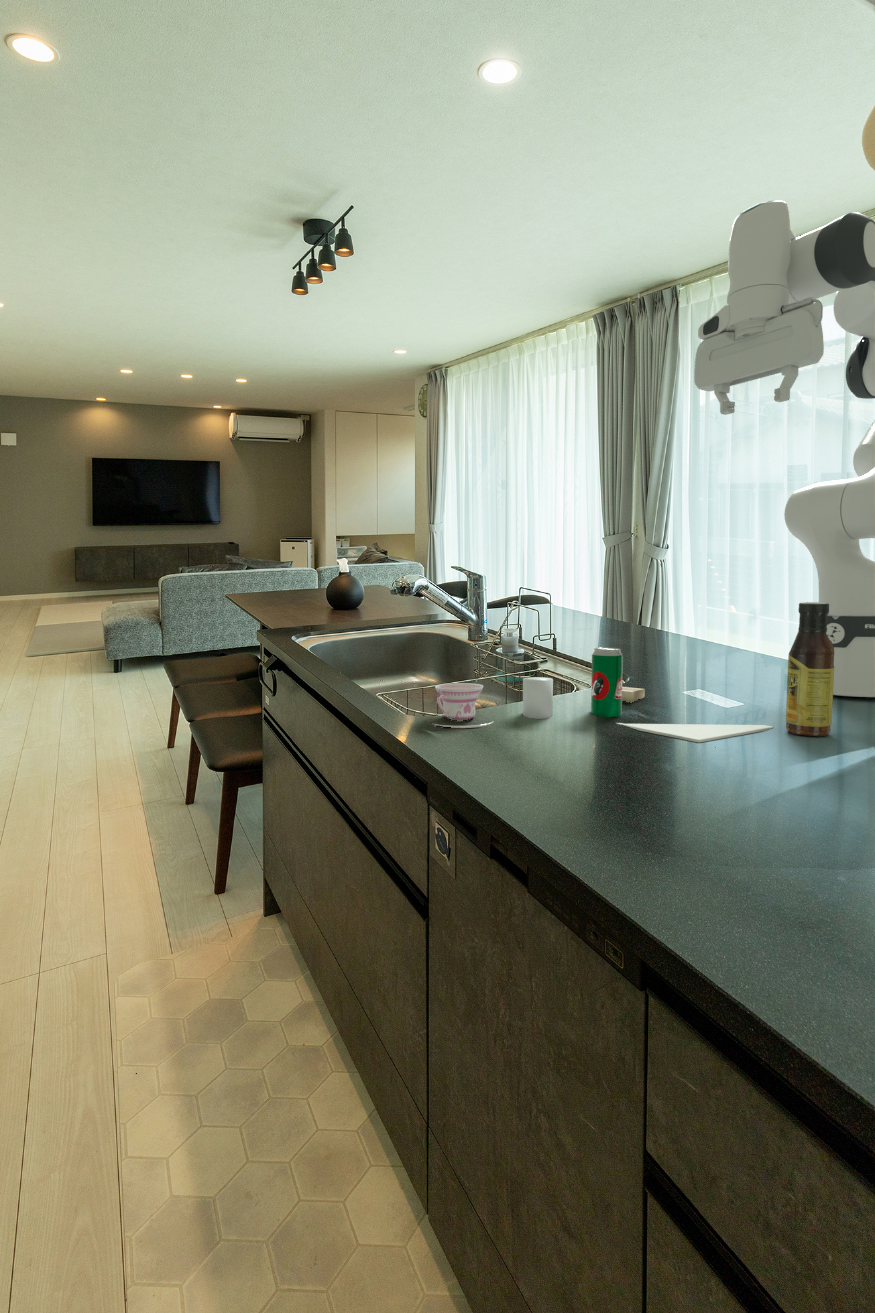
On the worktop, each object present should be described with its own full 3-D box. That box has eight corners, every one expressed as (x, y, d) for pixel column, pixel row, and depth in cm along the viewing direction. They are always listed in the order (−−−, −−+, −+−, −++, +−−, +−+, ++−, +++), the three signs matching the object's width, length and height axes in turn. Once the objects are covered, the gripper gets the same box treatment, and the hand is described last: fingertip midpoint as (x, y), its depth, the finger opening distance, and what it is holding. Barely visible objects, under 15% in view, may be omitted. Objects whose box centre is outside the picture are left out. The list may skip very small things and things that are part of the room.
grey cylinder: (539, 716, 128) (539, 676, 127) (558, 720, 124) (559, 679, 123) (516, 719, 125) (516, 678, 125) (536, 723, 121) (536, 681, 120)
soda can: (622, 722, 122) (623, 650, 121) (590, 721, 123) (592, 649, 122) (620, 717, 127) (622, 647, 126) (590, 716, 128) (591, 647, 127)
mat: (679, 713, 130) (679, 711, 130) (773, 729, 115) (773, 726, 115) (606, 723, 121) (606, 721, 121) (699, 742, 106) (699, 739, 106)
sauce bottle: (785, 728, 116) (790, 601, 114) (830, 731, 113) (836, 602, 112) (784, 736, 110) (789, 602, 108) (832, 739, 107) (838, 602, 106)
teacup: (460, 714, 131) (460, 680, 131) (510, 723, 122) (511, 686, 122) (408, 723, 123) (408, 686, 123) (458, 733, 114) (458, 693, 114)
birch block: (619, 707, 138) (619, 686, 138) (644, 710, 135) (644, 688, 134) (606, 711, 134) (606, 689, 134) (631, 714, 131) (631, 691, 131)
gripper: (834, 297, 107) (830, 395, 108) (713, 338, 124) (711, 422, 125) (810, 287, 104) (806, 389, 105) (689, 330, 121) (687, 417, 122)
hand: (753, 407), depth 115 cm, fingers open, 8 cm apart
